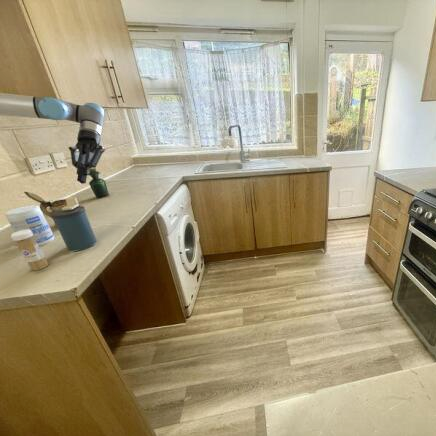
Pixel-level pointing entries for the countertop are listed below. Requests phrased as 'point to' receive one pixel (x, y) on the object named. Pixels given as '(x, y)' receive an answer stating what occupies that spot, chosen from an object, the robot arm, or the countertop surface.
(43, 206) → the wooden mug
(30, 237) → the sprinkles bottle
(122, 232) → the countertop surface
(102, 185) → the potion bottle
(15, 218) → the supplement tub
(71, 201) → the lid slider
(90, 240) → the tumbler
